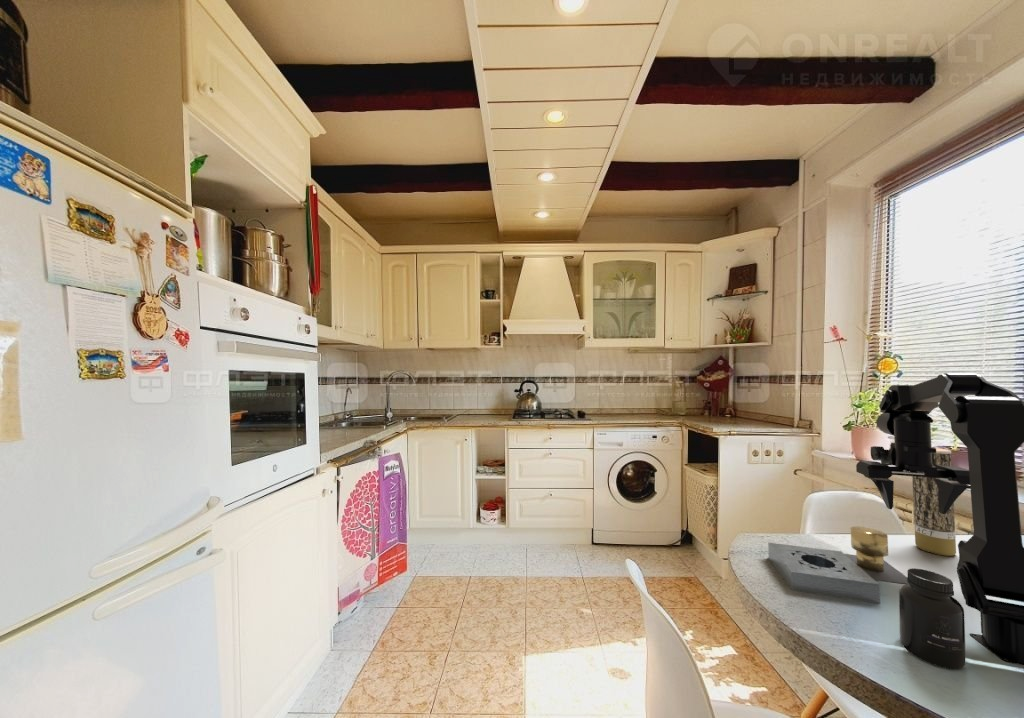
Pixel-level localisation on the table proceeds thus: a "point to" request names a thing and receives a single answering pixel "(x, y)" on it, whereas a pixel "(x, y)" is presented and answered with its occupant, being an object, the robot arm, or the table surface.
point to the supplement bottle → (932, 620)
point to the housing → (823, 572)
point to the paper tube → (933, 512)
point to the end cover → (869, 548)
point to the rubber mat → (884, 573)
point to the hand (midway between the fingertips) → (915, 511)
